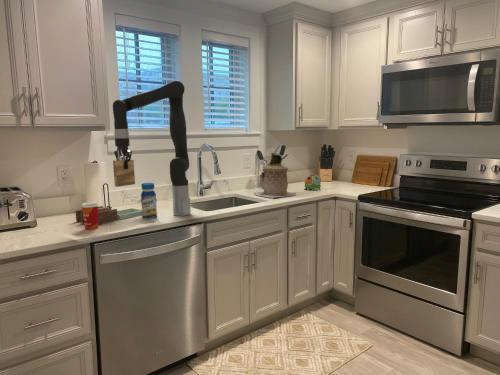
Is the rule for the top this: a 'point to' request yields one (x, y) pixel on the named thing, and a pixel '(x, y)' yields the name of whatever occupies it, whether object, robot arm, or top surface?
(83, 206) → the paper cup
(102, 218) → the rack
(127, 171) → the wood grain block
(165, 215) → the top surface
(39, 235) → the top surface
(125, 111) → the robot arm
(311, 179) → the turtle holder
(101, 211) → the offcut
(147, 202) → the beverage bottle
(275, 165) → the utensil crock
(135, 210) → the tray
